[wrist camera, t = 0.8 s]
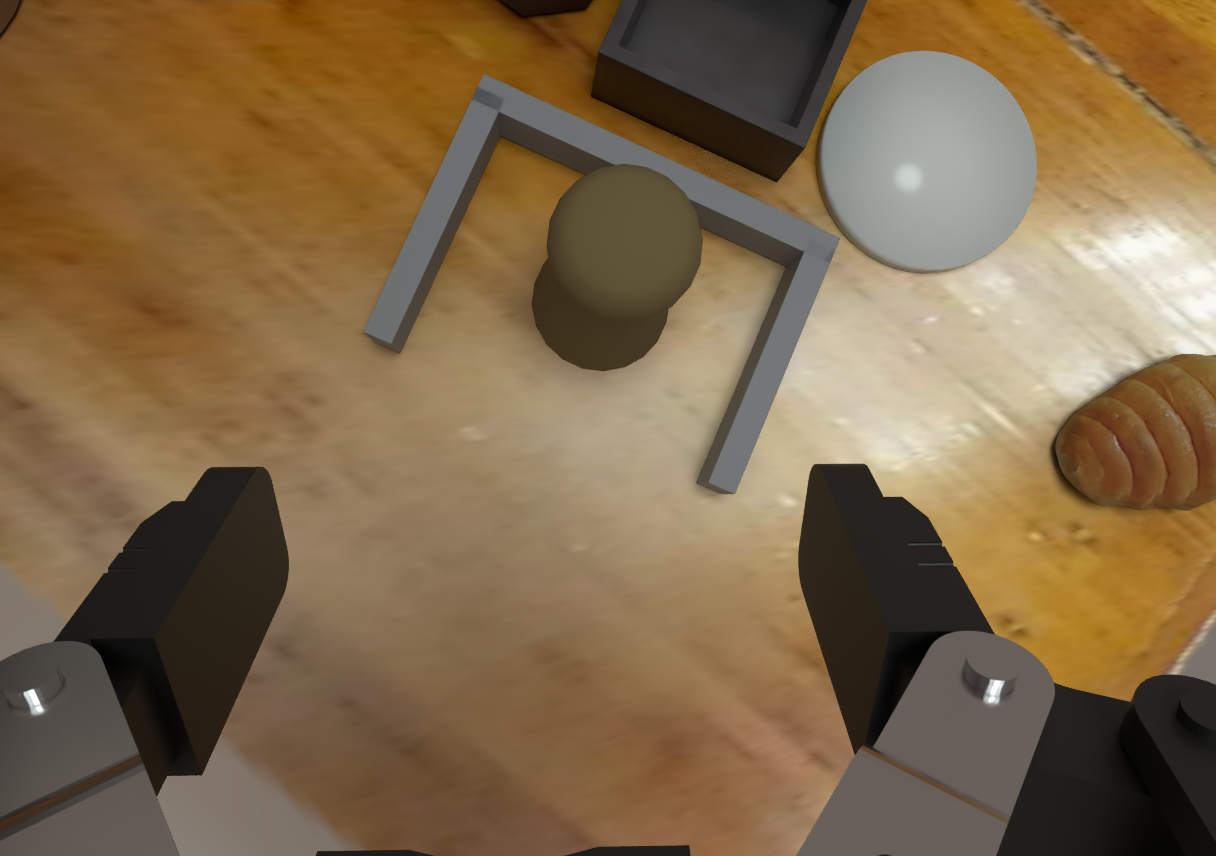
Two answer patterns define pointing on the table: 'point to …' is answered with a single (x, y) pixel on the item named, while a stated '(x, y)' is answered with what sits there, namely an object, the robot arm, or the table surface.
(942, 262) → the saucer
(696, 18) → the open storage bin
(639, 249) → the cork
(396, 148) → the table surface
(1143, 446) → the pastry
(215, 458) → the table surface
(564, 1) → the beer bottle
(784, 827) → the table surface
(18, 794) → the robot arm
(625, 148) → the grey u-shaped frame
